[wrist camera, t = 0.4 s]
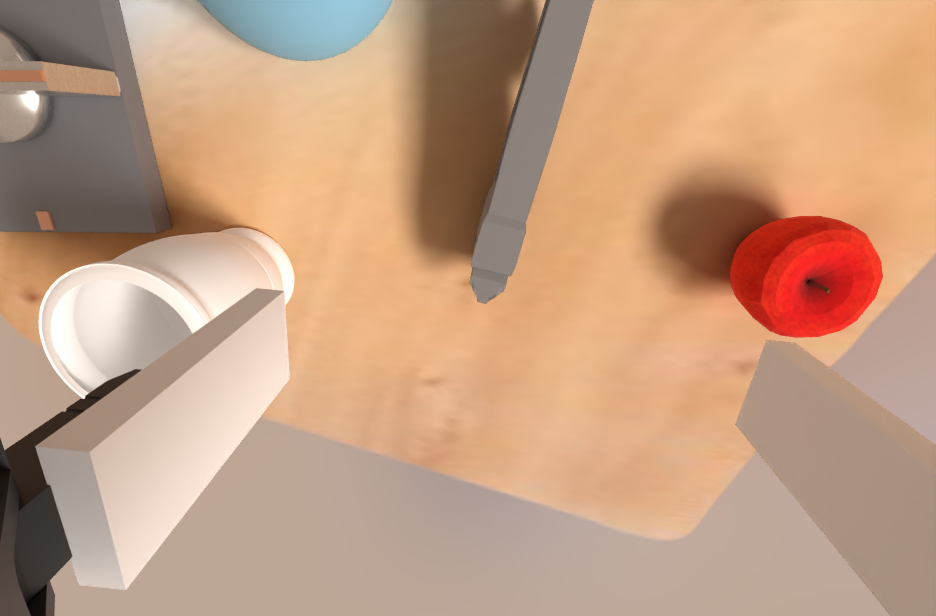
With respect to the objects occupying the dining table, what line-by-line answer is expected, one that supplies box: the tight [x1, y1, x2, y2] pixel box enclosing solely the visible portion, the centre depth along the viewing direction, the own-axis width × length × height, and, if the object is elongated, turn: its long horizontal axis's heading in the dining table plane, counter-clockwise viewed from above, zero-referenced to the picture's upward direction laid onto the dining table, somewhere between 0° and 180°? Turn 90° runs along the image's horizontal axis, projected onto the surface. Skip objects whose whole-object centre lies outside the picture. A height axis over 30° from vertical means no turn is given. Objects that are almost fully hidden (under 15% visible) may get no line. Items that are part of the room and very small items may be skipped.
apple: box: [730, 216, 883, 338], centre depth 35 cm, size 9×9×8 cm
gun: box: [470, 0, 594, 304], centre depth 33 cm, size 3×25×15 cm, turn 166°
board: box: [0, 0, 172, 233], centre depth 35 cm, size 22×18×2 cm
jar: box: [39, 228, 294, 399], centre depth 34 cm, size 11×10×15 cm
